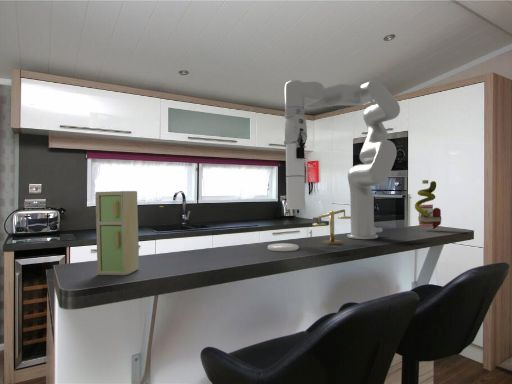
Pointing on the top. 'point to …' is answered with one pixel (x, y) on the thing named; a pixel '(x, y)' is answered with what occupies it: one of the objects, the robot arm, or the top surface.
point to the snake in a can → (428, 207)
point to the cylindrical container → (294, 179)
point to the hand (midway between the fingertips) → (295, 159)
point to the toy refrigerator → (117, 232)
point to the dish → (283, 247)
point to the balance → (318, 223)
